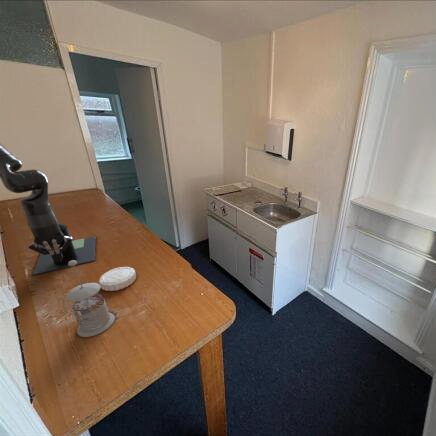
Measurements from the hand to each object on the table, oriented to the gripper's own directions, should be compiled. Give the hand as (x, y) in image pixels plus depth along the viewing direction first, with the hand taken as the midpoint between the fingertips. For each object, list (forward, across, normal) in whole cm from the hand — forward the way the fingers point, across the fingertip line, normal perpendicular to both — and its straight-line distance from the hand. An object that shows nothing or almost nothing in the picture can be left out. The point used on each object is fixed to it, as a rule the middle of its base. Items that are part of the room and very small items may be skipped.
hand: (59, 260), depth 95 cm
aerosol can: (+6, 0, -10) cm, 11 cm away
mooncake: (+6, -18, +18) cm, 27 cm away
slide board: (+6, 0, -16) cm, 18 cm away
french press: (+6, -10, +38) cm, 40 cm away
